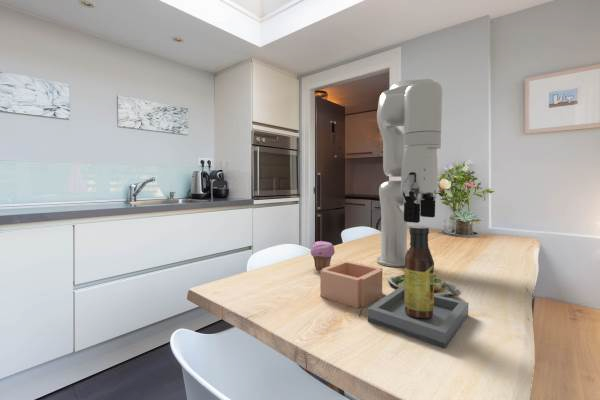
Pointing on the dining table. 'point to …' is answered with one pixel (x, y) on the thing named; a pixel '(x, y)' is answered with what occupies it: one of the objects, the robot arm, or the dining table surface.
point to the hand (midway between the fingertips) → (420, 219)
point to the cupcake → (322, 254)
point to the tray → (430, 330)
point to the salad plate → (440, 285)
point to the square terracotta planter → (351, 283)
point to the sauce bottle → (419, 275)
